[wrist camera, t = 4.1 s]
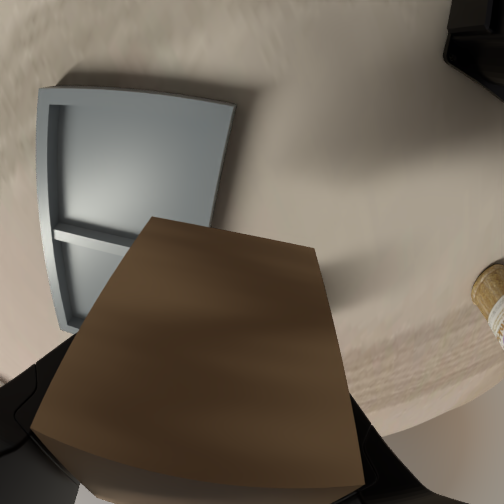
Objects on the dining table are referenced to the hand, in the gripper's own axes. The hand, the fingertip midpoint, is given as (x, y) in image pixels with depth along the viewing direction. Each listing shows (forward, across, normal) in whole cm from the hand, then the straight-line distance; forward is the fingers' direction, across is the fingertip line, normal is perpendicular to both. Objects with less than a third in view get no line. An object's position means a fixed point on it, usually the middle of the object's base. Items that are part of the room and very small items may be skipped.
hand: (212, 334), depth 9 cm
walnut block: (+2, 0, 0) cm, 2 cm away
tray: (+11, +7, +4) cm, 14 cm away
